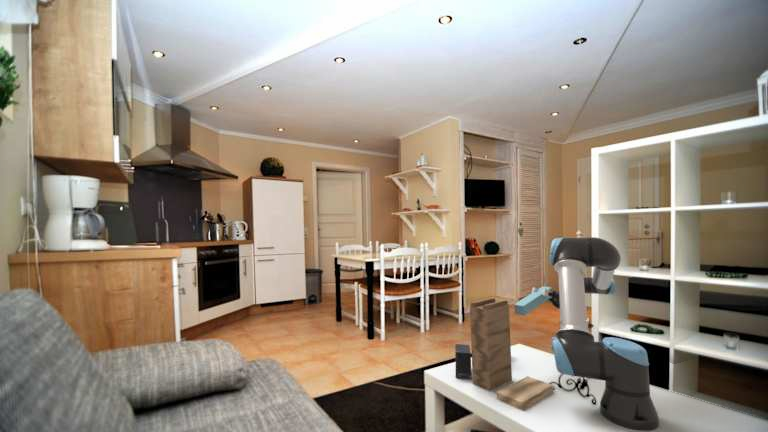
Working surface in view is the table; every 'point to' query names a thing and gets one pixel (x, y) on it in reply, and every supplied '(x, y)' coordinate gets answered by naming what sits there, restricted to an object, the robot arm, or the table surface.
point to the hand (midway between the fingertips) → (538, 291)
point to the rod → (531, 301)
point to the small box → (463, 361)
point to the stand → (490, 343)
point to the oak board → (524, 392)
